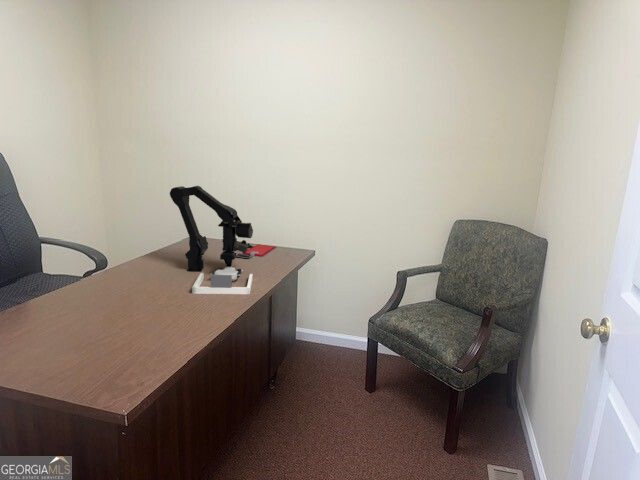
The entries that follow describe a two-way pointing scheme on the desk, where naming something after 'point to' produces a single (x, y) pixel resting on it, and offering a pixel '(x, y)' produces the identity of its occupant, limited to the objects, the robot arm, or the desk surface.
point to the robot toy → (229, 272)
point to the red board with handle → (256, 251)
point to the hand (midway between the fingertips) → (229, 269)
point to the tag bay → (220, 285)
